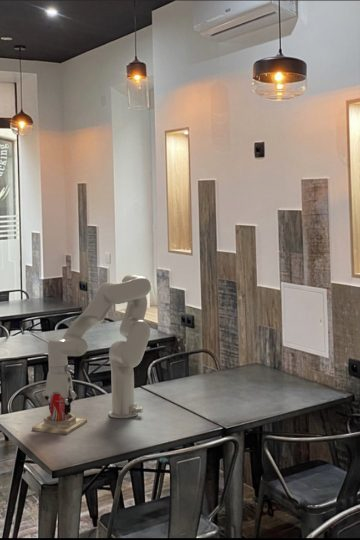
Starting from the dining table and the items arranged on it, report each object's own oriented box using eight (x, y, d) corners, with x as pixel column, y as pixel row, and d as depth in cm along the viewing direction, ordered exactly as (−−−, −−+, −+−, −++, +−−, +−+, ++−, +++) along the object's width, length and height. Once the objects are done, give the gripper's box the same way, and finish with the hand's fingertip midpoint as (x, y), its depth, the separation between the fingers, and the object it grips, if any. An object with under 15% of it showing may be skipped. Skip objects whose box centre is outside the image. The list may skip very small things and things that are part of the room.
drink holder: (86, 422, 271) (86, 413, 271) (67, 434, 256) (66, 425, 256) (53, 418, 277) (53, 409, 276) (32, 430, 262) (31, 421, 261)
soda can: (51, 417, 270) (51, 388, 268) (68, 417, 270) (68, 388, 269) (49, 422, 263) (49, 393, 261) (67, 422, 263) (67, 393, 262)
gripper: (81, 368, 265) (83, 411, 266) (44, 365, 271) (46, 408, 273) (72, 373, 258) (74, 417, 259) (34, 370, 264) (36, 413, 266)
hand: (60, 412), depth 266 cm, fingers closed on soda can, 6 cm apart
